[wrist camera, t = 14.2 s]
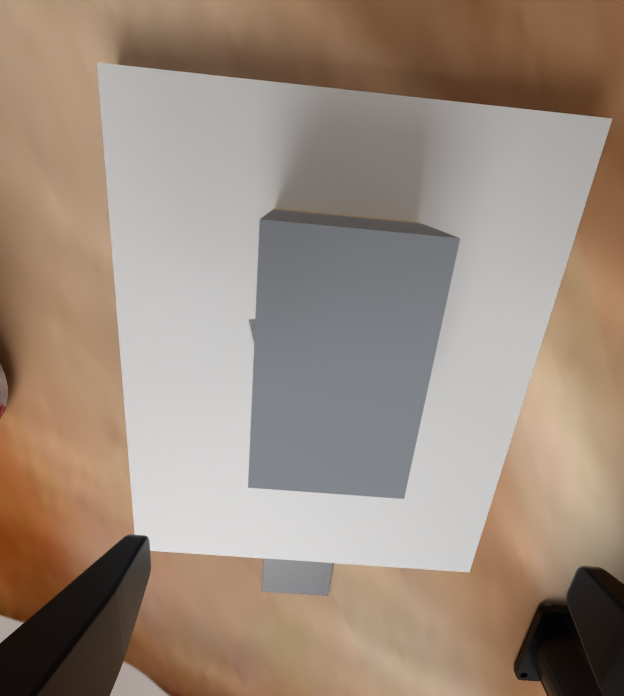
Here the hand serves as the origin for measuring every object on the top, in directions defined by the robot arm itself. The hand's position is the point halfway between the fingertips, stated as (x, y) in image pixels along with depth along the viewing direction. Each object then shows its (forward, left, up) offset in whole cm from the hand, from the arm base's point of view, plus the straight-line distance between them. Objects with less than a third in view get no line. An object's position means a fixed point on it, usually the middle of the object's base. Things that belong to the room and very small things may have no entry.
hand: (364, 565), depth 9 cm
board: (-1, 0, -12) cm, 12 cm away
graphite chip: (-14, +1, -12) cm, 19 cm away
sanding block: (+2, 0, -10) cm, 11 cm away
